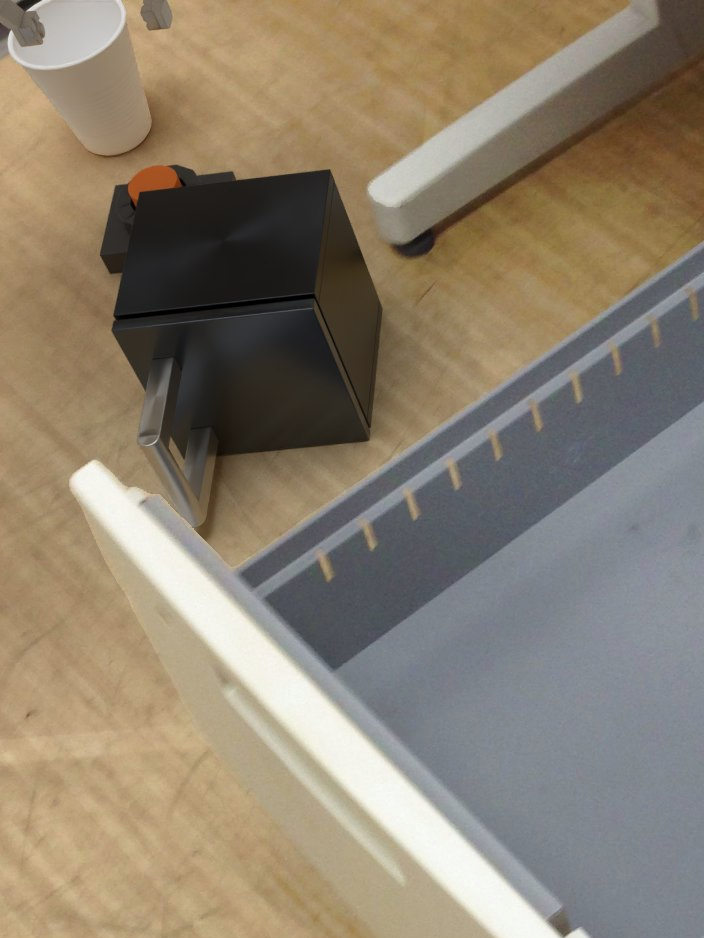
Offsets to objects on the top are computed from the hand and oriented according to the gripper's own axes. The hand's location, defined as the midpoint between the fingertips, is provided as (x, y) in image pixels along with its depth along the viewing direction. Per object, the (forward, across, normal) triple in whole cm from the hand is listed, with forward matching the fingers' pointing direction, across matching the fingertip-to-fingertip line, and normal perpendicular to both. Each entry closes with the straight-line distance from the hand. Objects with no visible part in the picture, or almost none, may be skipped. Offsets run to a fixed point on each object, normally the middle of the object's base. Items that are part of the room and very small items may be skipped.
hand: (97, 32), depth 126 cm
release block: (+21, -3, +2) cm, 22 cm away
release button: (+18, -3, +2) cm, 18 cm away
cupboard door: (+21, +9, -25) cm, 34 cm away
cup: (+21, -10, +15) cm, 28 cm away
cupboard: (+21, +9, -14) cm, 27 cm away
